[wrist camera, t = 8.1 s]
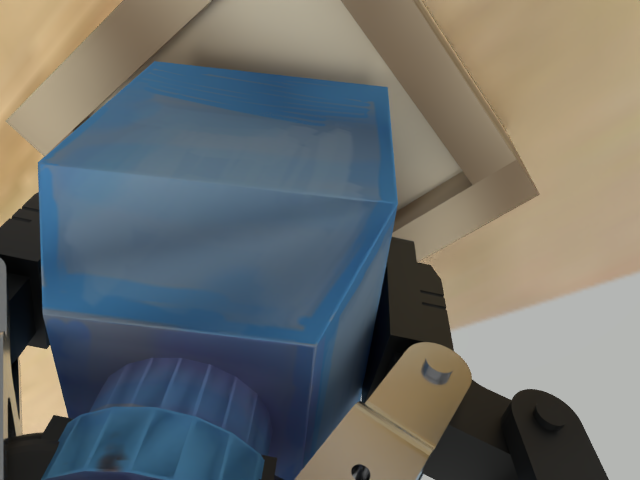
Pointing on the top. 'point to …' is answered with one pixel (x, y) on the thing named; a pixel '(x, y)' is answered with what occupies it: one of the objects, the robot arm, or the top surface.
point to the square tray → (325, 64)
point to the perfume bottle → (214, 271)
